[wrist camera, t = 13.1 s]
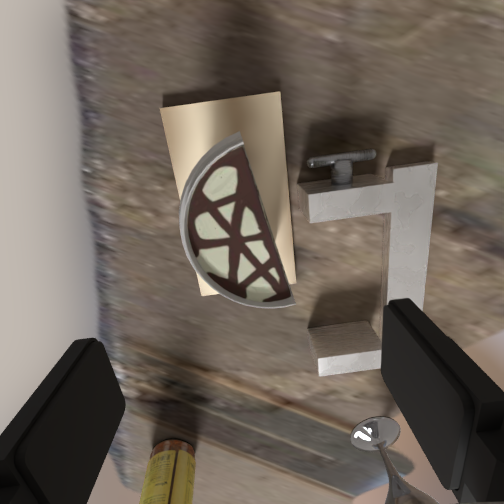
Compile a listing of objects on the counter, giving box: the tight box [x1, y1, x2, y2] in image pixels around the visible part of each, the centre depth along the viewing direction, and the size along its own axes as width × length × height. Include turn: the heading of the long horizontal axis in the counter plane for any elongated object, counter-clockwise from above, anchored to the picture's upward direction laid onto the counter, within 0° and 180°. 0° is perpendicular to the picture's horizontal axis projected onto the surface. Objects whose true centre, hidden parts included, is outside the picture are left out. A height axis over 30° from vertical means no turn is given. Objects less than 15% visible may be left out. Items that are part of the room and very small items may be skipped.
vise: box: [297, 149, 438, 376], centre depth 30 cm, size 12×22×5 cm, turn 7°
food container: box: [179, 131, 296, 308], centre depth 24 cm, size 12×6×10 cm, turn 18°
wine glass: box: [350, 417, 439, 504], centre depth 36 cm, size 8×8×15 cm
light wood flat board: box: [160, 91, 296, 296], centre depth 29 cm, size 10×18×1 cm, turn 7°
